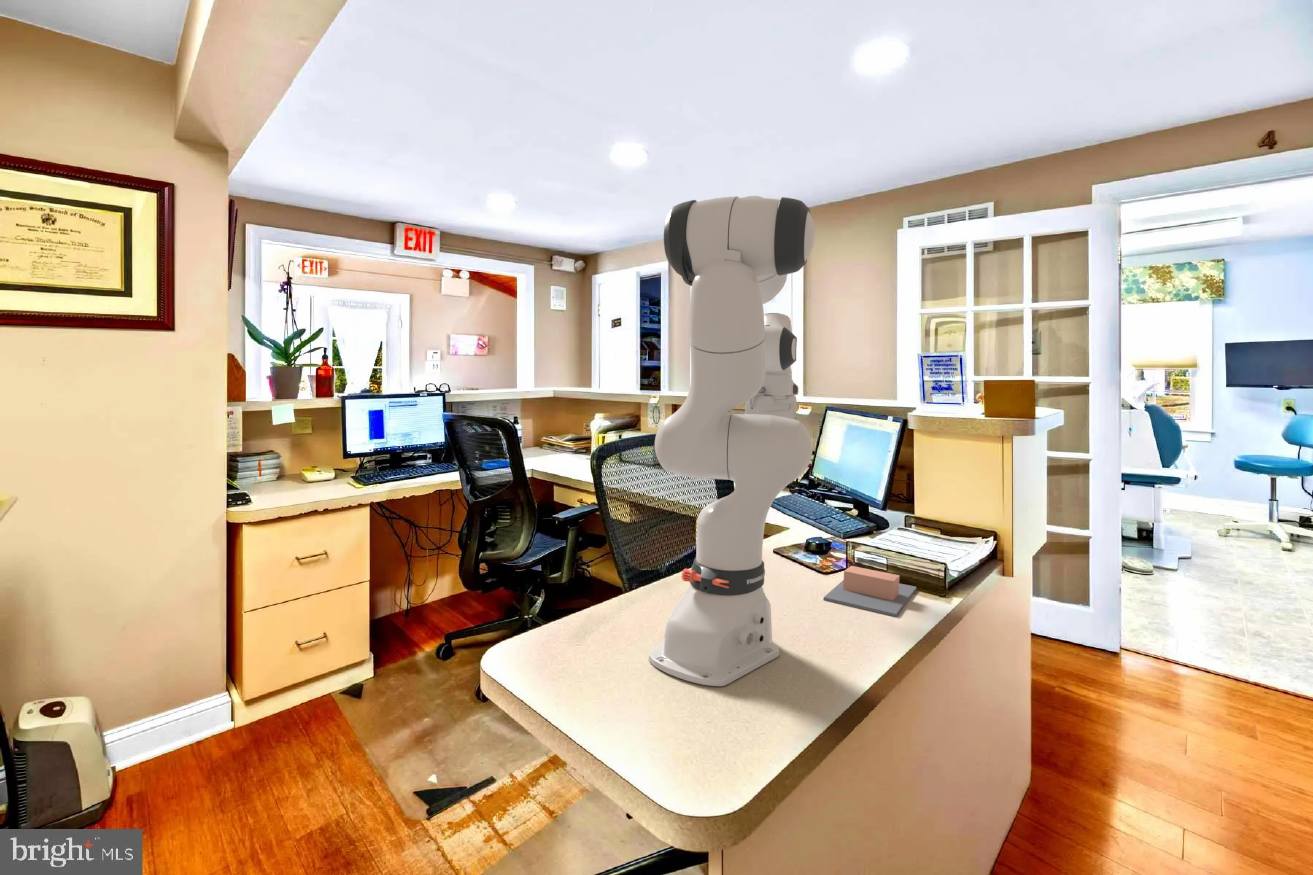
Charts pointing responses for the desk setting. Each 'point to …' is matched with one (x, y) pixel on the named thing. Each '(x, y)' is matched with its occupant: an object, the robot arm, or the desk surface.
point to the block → (871, 582)
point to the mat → (871, 599)
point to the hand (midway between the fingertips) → (769, 447)
